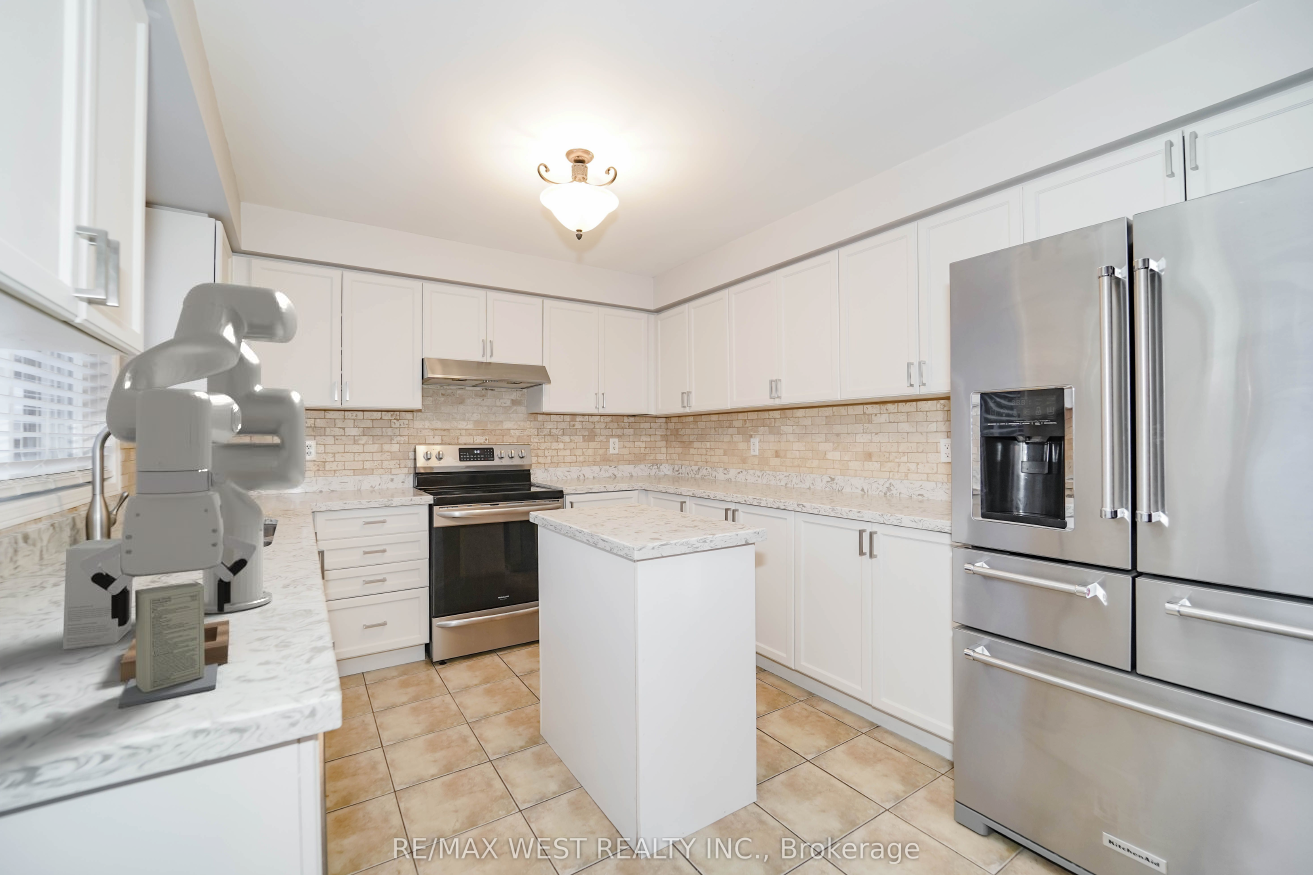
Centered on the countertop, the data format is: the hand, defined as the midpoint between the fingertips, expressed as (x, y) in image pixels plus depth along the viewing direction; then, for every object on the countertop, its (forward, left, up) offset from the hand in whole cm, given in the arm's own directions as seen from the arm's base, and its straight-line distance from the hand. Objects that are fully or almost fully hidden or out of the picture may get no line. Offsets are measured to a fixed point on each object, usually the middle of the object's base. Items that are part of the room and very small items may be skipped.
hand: (174, 616), depth 74 cm
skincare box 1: (-30, -11, -9) cm, 33 cm away
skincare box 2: (0, 0, -8) cm, 8 cm away
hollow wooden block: (-12, 0, -9) cm, 15 cm away
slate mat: (+1, 0, -9) cm, 9 cm away
